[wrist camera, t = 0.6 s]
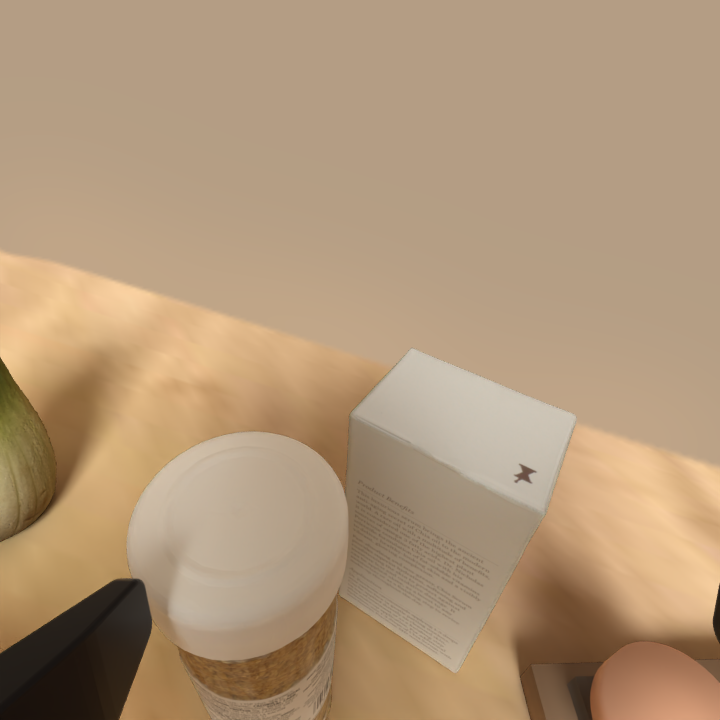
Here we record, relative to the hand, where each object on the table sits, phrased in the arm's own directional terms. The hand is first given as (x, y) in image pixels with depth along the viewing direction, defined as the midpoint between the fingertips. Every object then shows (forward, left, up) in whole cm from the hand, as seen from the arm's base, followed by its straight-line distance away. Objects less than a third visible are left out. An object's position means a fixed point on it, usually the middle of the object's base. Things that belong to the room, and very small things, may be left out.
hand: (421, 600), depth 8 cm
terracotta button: (0, -10, -12) cm, 16 cm away
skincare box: (+6, -3, -15) cm, 16 cm away
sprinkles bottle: (+2, +3, -15) cm, 15 cm away
